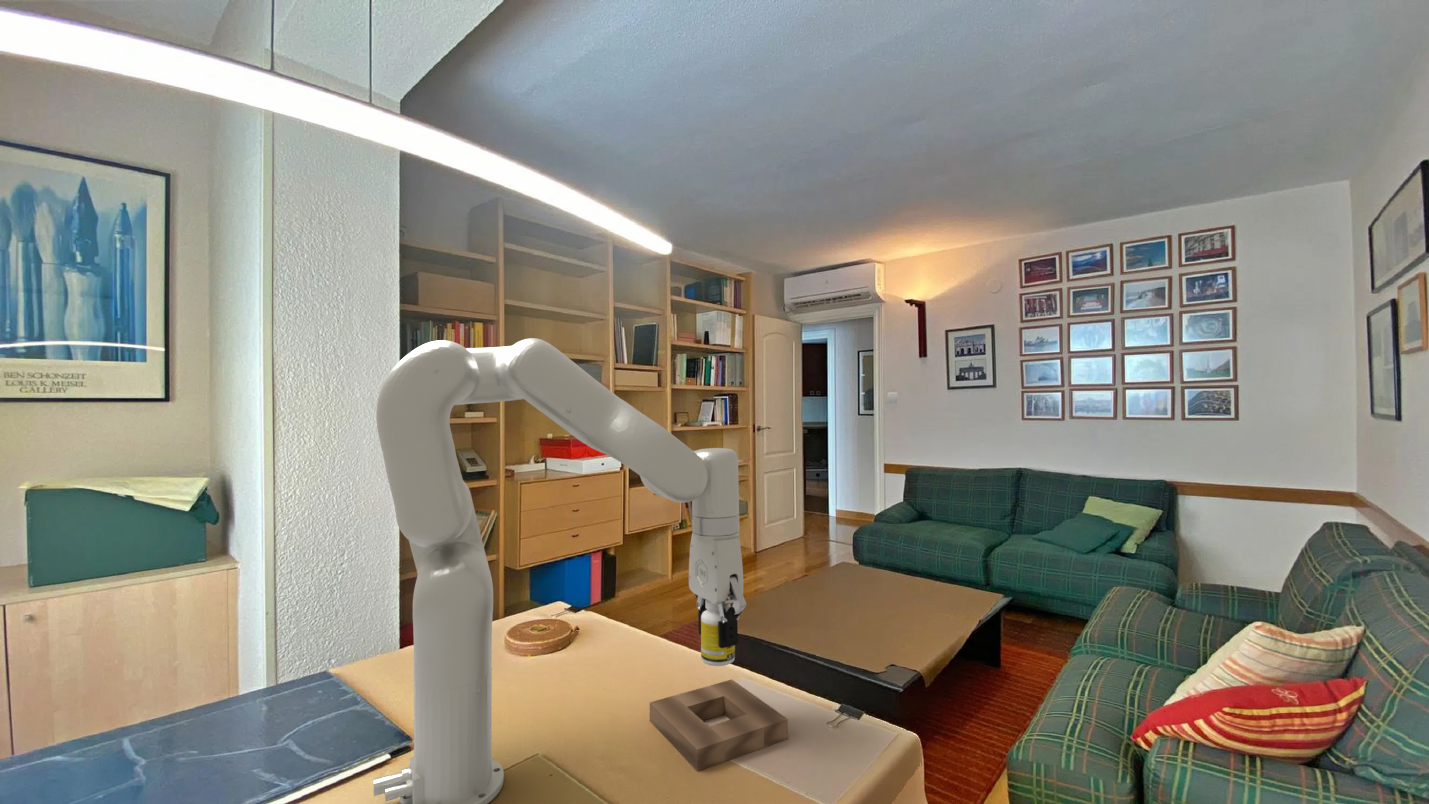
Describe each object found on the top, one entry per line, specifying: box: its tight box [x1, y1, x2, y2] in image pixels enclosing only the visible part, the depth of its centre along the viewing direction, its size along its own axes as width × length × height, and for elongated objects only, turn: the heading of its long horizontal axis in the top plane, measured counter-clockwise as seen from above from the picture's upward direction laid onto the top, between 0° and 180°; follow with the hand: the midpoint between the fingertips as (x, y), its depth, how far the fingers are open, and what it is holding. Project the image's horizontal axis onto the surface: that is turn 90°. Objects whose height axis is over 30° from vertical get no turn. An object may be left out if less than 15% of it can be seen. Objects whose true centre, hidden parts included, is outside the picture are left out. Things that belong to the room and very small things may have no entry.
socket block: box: [649, 679, 789, 772], centre depth 94 cm, size 16×16×3 cm
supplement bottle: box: [700, 596, 736, 667], centre depth 95 cm, size 5×5×10 cm
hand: (717, 638), depth 95 cm, fingers closed on supplement bottle, 5 cm apart
